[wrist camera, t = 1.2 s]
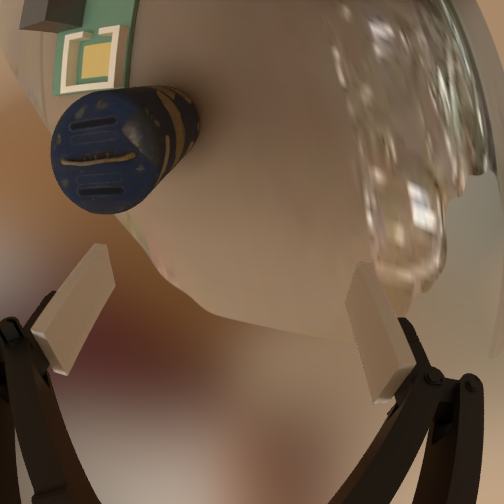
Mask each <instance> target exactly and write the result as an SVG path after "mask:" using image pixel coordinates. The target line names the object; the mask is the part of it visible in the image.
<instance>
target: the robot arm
mask: <svg viewBox="0 0 504 504" xmlns="http://www.w3.org/2000/svg"><path fill="white" fill-rule="evenodd" d="M114 287H115V282H114V277H113V273H112V268H111V264H110V259H109V255H108V249H107V245H106V244H94V245H93V246H92V247H91V249H90V250H89V251H88V252H87V253H86V255H85V256H84V257H83V258H82V260H81V261H80V262H79V263H78V265H77V266H76V267H75V268H74V270H73V271H72V272H71V273H70V275H69V276H68V277H67V279H66V280H65V281H64V283H63V284H62V285H61V287H60V288H59V290H58V291H52V292H51V293H49V294H48V295H47V296H45V298H44V299H43V300H42V302H41V303H40V305H39V306H38V307H37V309H36V311H35V312H34V313H33V314H32V316H31V317H30V319H29V320H28V321H27V323H26V324H25V326H24V327H23V328H22V326H21V324H20V322H19V320H18V319H17V318H16V317H7V318H5V319H3V320H2V321H1V322H0V504H21V498H20V492H19V485H18V476H17V466H16V452H15V429H16V433H17V437H18V441H19V445H20V448H21V452H22V456H23V459H24V462H25V465H26V468H27V471H28V475H29V477H30V480H31V483H32V486H33V488H34V495H33V496H32V504H101V502H100V501H99V499H98V498H97V496H96V494H95V492H94V490H93V488H92V487H91V484H90V482H89V481H88V478H87V476H86V474H85V472H84V470H83V468H82V465H81V463H80V461H79V459H78V457H77V454H76V452H75V449H74V447H73V444H72V442H71V439H70V437H69V434H68V432H67V429H66V426H65V423H64V421H63V418H62V415H61V412H60V409H59V406H58V402H57V399H56V396H55V393H54V389H53V386H52V382H51V379H50V375H49V372H48V371H47V368H48V366H49V365H51V366H52V368H53V370H54V372H57V373H60V374H64V375H66V376H68V374H69V372H70V370H71V368H72V366H73V364H74V362H75V360H76V358H77V356H78V354H79V351H80V350H81V348H82V346H83V344H84V342H85V340H86V338H87V336H88V334H89V332H90V330H91V328H92V326H93V325H94V323H95V321H96V319H97V317H98V315H99V314H100V312H101V310H102V308H103V306H104V305H105V303H106V301H107V299H108V298H109V296H110V294H111V292H112V291H113V289H114ZM345 305H346V309H347V312H348V315H349V318H350V322H351V325H352V328H353V332H354V335H355V339H356V342H357V345H358V349H359V353H360V356H361V360H362V363H363V367H364V371H365V375H366V378H367V382H368V386H369V390H370V394H371V398H372V402H373V404H379V403H387V402H389V401H390V400H391V398H392V397H393V396H395V399H396V403H395V405H394V406H393V407H392V408H391V410H390V411H389V412H388V413H387V415H388V417H387V418H386V420H385V422H384V424H383V425H382V427H381V429H380V430H379V432H378V434H377V435H376V437H375V438H374V440H373V442H372V443H371V445H370V446H369V448H368V449H367V451H366V452H365V454H364V455H363V457H362V458H361V460H360V461H359V463H358V464H357V466H356V467H355V469H354V470H353V471H352V473H351V474H350V476H349V477H348V478H347V480H346V481H345V482H344V484H343V485H342V486H341V487H340V489H339V490H338V491H337V493H336V494H335V496H333V498H332V499H331V500H330V502H329V503H328V504H389V503H390V502H391V500H392V499H393V497H394V495H395V494H396V492H397V490H398V489H399V487H400V485H401V483H402V482H403V480H404V478H405V476H406V474H407V472H408V471H409V469H410V467H411V465H412V463H413V461H414V459H415V457H416V455H417V453H418V450H419V449H420V447H421V444H422V442H423V440H424V438H425V436H426V433H427V431H428V429H429V431H428V437H427V443H426V448H425V453H424V458H423V463H422V467H421V472H420V476H419V480H418V484H417V488H416V491H415V495H414V498H413V502H412V504H476V500H477V494H478V487H479V481H480V473H481V463H482V451H483V435H484V393H483V392H484V391H483V384H482V382H481V380H480V379H479V378H478V377H477V376H476V375H473V374H470V373H467V374H464V375H463V376H462V377H461V379H460V380H455V379H449V378H445V377H444V375H443V374H442V372H441V371H440V370H439V369H437V368H435V367H432V366H431V365H430V363H429V360H428V358H427V356H426V353H425V351H424V349H423V347H422V345H421V342H419V338H418V336H417V335H416V332H415V329H414V327H413V326H412V324H411V323H410V322H409V321H408V320H407V319H406V318H397V316H396V314H395V312H394V310H393V308H392V306H391V303H390V301H389V299H388V297H387V295H386V293H385V291H384V289H383V287H382V285H381V283H380V281H379V279H378V277H377V275H376V273H375V271H374V269H373V267H372V265H371V263H362V262H357V265H356V268H355V272H354V275H353V278H352V282H351V285H350V288H349V291H348V294H347V298H346V301H345Z"/></svg>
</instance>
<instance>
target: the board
mask: <svg viewBox="0 0 504 504" xmlns="http://www.w3.org/2000/svg"><path fill="white" fill-rule="evenodd" d="M138 2H139V0H87V1H86V6H85V12H84V18H83V24H82V27H81V28H77V29H72V30H68V31H64V32H60V33H58V35H57V43H56V52H55V63H54V76H53V96H58V95H64V94H72V93H80V92H90V91H100V90H111V89H120V88H128V83H129V70H130V60H131V50H132V42H133V34H134V27H135V20H136V14H137V8H138ZM116 25H122V26H124V27H127V28H129V30H128V38H127V46H126V55H125V65H124V76H123V87H120V88H106V89H95V90H85V91H76V92H69V93H62V94H60V89H61V71H62V59H63V49H64V40H65V35H68V34H72V33H77V32H82V31H85V32H89V33H93V39H91V40H85V41H80V47H79V56H78V68H77V83H76V85H81V84H89V83H98V82H108V76H101V77H92V78H84V79H81V77H82V63H83V53H84V46H88V45H94V44H100V43H107V42H112V36H109V37H107V36H103V35H99V34H98V32H99V28H103V27H109V26H116Z"/></svg>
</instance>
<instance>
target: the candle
mask: <svg viewBox="0 0 504 504" xmlns="http://www.w3.org/2000/svg"><path fill="white" fill-rule="evenodd" d="M198 132H199V117H198V113H197V110H196V108H195V106H194V104H193V102H192V101H191V100H190V99H189V98H188V97H187V96H186V95H185V94H184V93H182V92H181V91H179V90H177V89H174V88H171V87H165V86H143V87H132V88H120V89H111V90H103V91H97V92H93V93H90V94H88V95H86V96H84V97H82V98H80V99H79V100H77V101H76V102H74V103H73V104H72V105H71V106H70V107H69V108H68V109H67V110H66V111H65V112H64V114H63V115H62V116H61V118H60V120H59V121H58V123H57V125H56V128H55V130H54V133H53V136H52V141H51V164H52V168H53V172H54V175H55V178H56V180H57V182H58V184H59V186H60V188H61V189H62V191H63V192H64V194H65V195H66V196H67V197H68V198H69V199H70V200H71V201H72V202H74V203H75V204H76V205H78V206H79V207H81V208H83V209H85V210H86V211H88V212H91V213H96V214H116V213H121V212H124V211H127V210H129V209H131V208H133V207H134V206H136V205H137V204H139V203H140V202H141V201H143V200H144V199H145V198H146V197H147V196H148V195H149V193H150V192H151V191H152V190H153V189H154V188H155V187H156V186H157V185H158V184H159V182H160V181H161V180H162V179H163V178H164V177H165V176H166V175H167V174H168V173H169V172H170V171H171V170H172V169H173V168H174V167H175V166H176V165H177V163H179V161H180V160H181V159H182V158H183V157H184V156H185V155H186V154H187V153H188V152H189V151H190V149H191V148H192V147H193V145H194V143H195V141H196V139H197V136H198Z"/></svg>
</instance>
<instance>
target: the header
mask: <svg viewBox="0 0 504 504" xmlns="http://www.w3.org/2000/svg"><path fill="white" fill-rule="evenodd" d="M128 30H129V28H127V27H124V26H122V25H116V26H109V27H103V28H99V32H98V34H99V35H103V36H107V37H109V36H112V42H107V43H100V44H94V45H88V46H84V53H83V63H82V77H81V79H84V78H92V77H101V76H108V82H98V83H89V84H81V85H76V83H77V68H78V56H79V47H80V41H85V40H91V39H93V33H89V32H85V31H82V32H77V33H72V34H68V35H65V40H64V49H63V59H62V71H61V89H60V94H62V93H69V92H76V91H85V90H95V89H106V88H120V87H123V76H124V65H125V55H126V46H127V38H128Z"/></svg>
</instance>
